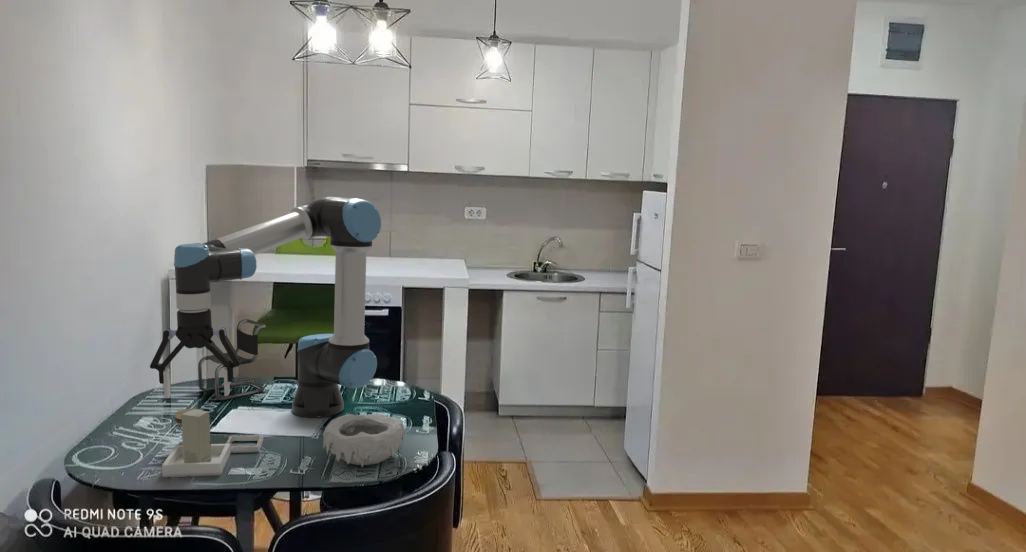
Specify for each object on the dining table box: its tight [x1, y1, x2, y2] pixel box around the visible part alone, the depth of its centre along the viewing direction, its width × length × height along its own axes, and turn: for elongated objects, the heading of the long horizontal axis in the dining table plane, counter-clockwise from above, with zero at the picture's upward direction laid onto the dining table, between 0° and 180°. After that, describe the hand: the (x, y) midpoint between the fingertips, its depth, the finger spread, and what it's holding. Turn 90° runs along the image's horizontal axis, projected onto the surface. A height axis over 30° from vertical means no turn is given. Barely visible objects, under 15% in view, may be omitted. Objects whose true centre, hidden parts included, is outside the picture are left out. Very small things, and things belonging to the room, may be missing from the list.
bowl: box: [322, 413, 405, 468], centre depth 194 cm, size 21×20×10 cm
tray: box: [161, 443, 231, 478], centre depth 187 cm, size 13×13×3 cm
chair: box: [197, 318, 267, 401], centre depth 244 cm, size 13×17×22 cm
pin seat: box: [225, 434, 264, 454], centre depth 200 cm, size 8×8×2 cm
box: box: [181, 410, 212, 463], centre depth 186 cm, size 5×4×13 cm
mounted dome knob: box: [173, 408, 205, 445], centre depth 196 cm, size 7×7×10 cm
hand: (197, 395), depth 185 cm, fingers open, 13 cm apart
